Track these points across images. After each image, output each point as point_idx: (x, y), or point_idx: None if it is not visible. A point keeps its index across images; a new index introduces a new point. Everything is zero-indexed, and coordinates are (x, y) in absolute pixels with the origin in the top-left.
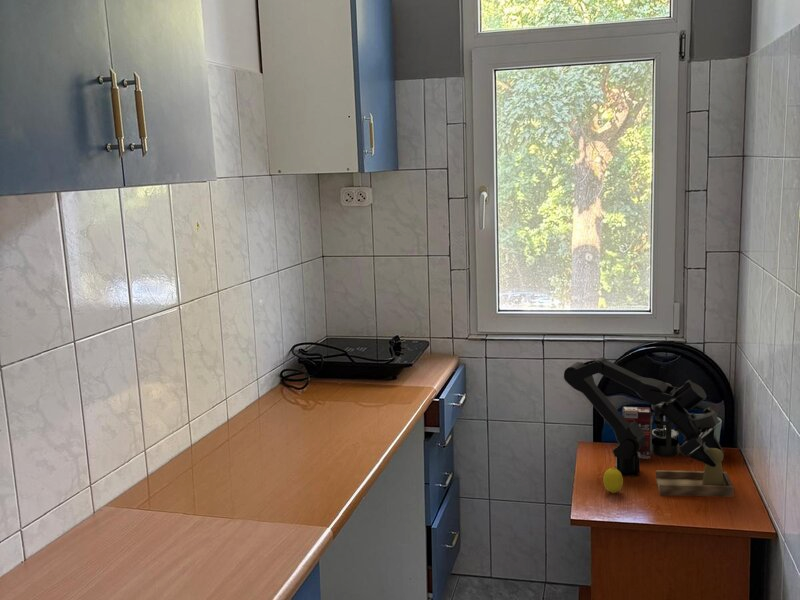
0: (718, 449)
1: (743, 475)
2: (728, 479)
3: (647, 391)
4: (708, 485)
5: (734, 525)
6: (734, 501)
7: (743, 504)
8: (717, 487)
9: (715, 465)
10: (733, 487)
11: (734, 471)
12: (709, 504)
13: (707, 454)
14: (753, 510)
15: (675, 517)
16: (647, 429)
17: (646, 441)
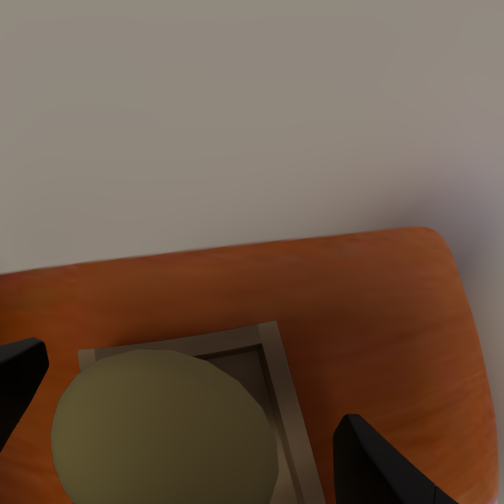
0: (105, 405)
1: (42, 284)
2: (177, 347)
3: None
4: (295, 447)
5: (462, 311)
6: (307, 328)
7: (322, 294)
8: (298, 401)
9: (358, 418)
10: (275, 322)
11: (14, 313)
12: (369, 418)
13: (450, 500)
14: (355, 261)
15: (473, 473)
16: None
17: None
